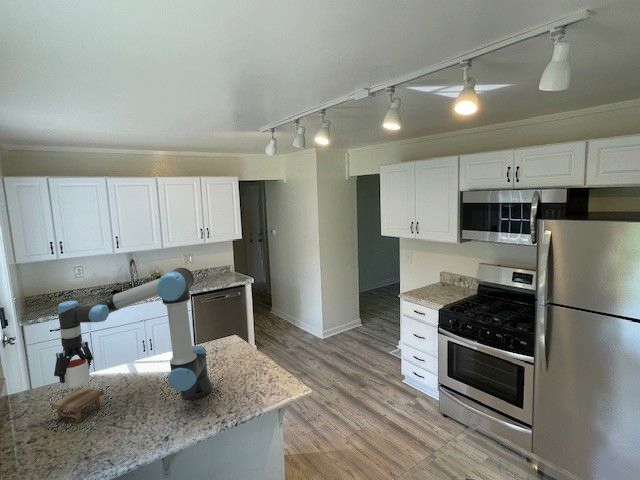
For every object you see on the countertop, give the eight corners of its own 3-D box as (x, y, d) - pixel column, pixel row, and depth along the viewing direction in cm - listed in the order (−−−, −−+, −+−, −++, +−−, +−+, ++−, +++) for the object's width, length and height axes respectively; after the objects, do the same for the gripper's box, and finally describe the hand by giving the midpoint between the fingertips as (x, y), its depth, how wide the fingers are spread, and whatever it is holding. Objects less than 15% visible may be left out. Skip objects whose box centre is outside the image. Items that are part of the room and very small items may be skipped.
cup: (76, 390, 154) (73, 369, 153) (57, 389, 156) (54, 367, 155) (94, 379, 164) (92, 359, 163) (76, 378, 166) (74, 357, 165)
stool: (105, 406, 166) (103, 390, 166) (78, 424, 153) (76, 407, 152) (81, 403, 170) (79, 387, 169) (53, 421, 156) (51, 404, 155)
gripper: (86, 326, 169) (91, 370, 171) (39, 345, 147) (45, 395, 150) (99, 327, 167) (103, 371, 170) (53, 346, 145) (59, 397, 148)
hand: (76, 382), depth 160 cm, fingers closed on cup, 10 cm apart
